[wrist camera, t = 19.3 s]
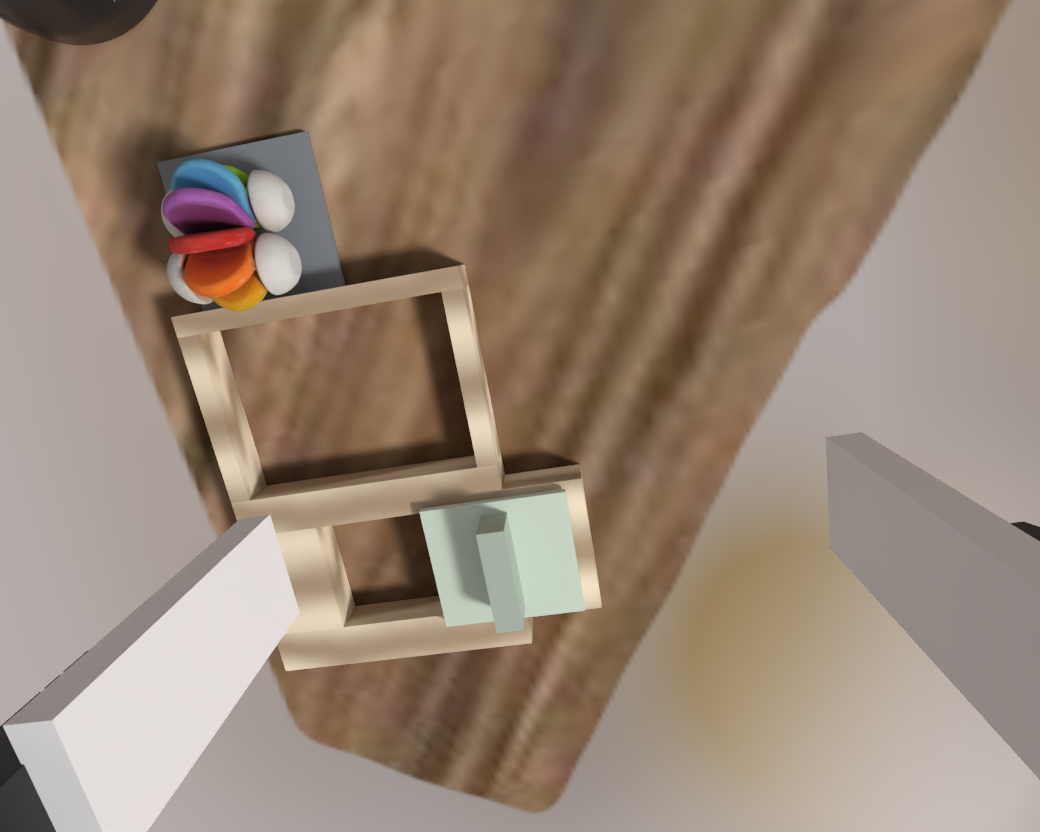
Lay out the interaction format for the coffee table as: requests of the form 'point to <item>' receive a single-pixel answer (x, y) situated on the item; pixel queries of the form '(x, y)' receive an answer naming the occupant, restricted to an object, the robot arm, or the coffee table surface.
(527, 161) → the coffee table surface
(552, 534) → the lid
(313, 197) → the mat
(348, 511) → the board
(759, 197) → the coffee table surface
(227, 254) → the rainbow toy vehicle
